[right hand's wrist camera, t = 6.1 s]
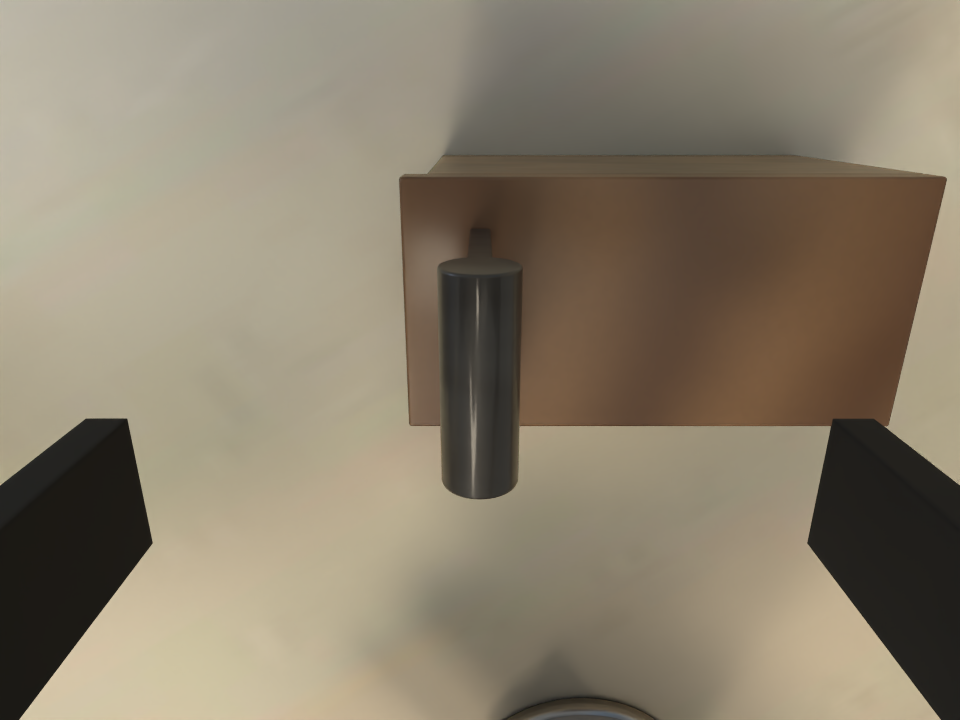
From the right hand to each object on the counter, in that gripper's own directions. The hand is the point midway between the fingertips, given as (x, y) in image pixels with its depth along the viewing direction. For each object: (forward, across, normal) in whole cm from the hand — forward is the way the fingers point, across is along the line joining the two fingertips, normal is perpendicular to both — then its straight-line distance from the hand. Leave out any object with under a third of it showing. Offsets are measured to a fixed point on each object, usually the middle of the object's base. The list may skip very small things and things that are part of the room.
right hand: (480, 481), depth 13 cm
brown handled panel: (+13, -6, 0) cm, 14 cm away
